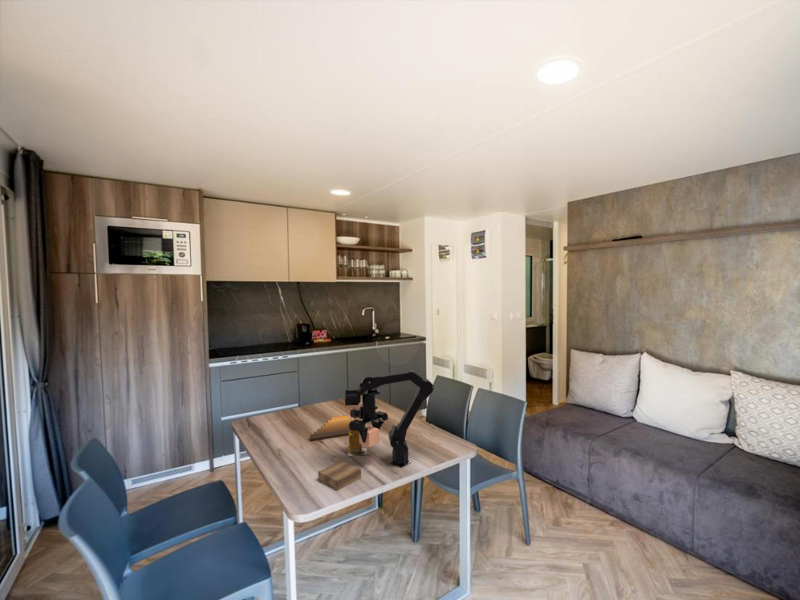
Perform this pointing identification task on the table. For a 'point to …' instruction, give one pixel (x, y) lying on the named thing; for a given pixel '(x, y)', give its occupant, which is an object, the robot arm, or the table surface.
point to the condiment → (355, 444)
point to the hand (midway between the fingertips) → (369, 440)
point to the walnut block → (339, 475)
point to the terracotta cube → (370, 437)
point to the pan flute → (333, 429)
